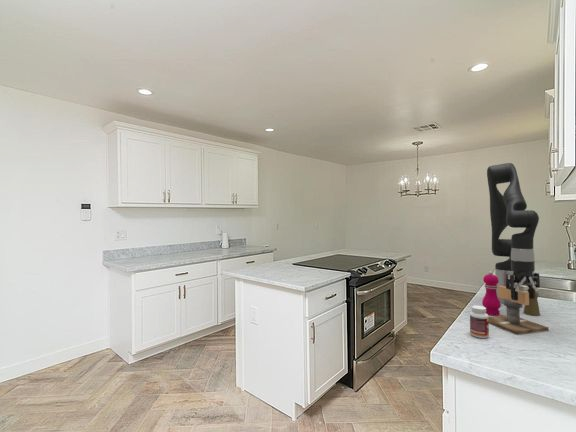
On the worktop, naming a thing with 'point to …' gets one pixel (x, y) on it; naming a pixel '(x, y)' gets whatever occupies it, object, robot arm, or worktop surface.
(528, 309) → the cork
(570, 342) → the worktop surface
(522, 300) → the tan long piece
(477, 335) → the pill bottle
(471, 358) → the worktop surface
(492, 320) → the square stand base
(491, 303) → the pepper mill
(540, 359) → the worktop surface
